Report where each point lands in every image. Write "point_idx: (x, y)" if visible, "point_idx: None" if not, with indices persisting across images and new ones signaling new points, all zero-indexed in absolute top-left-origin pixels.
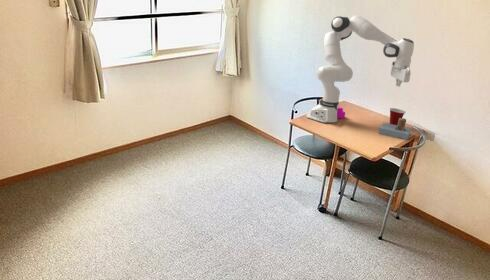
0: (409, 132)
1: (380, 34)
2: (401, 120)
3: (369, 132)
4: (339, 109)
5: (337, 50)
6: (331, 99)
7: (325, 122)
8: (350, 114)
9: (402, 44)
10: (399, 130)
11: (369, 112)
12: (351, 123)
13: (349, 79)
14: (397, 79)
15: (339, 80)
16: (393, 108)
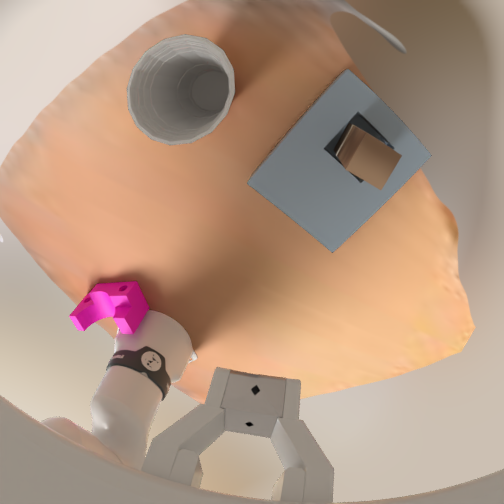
0: (401, 120)
1: None
2: (385, 178)
3: (313, 271)
4: (133, 328)
5: None
6: (158, 406)
7: None
8: (90, 238)
9: None
10: None
11: (47, 141)
12: (202, 288)
13: (85, 439)
14: (200, 482)
15: (114, 457)
16: (131, 99)
